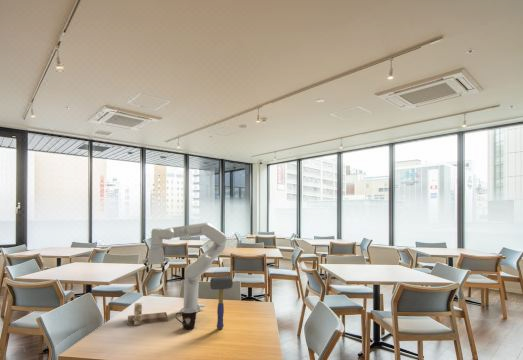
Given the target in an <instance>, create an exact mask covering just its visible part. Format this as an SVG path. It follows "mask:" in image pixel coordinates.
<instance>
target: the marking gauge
mask: <svg viewBox="0 0 523 360" xmlns="http://www.w3.org/2000/svg"><path fill="white" fill-rule="evenodd" d="M142 309H143V303H142V302H138V303H137V302H136V303H134V311H133V315H134V316H135V317H134V326H136V325H137V326H138V325H142V324H141V322H142V311H143V310H142Z"/></svg>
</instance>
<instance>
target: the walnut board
mask: <svg viewBox="0 0 523 360" xmlns="http://www.w3.org/2000/svg"><path fill="white" fill-rule="evenodd" d="M141 314H142V313H141ZM134 317H135V316H134V314H132V315H127V326H132V325H134ZM168 319H169V317H168V313H167V312H166V311H163V312H154V313H152V312H151V313H143V314H142V322H141V324H140V325H142V324H152V323H153V324H154V323H160V322H167V321H169V320H168ZM134 326H135V325H134Z"/></svg>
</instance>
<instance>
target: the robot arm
mask: <svg viewBox="0 0 523 360" xmlns="http://www.w3.org/2000/svg"><path fill="white" fill-rule="evenodd" d="M150 233H151V234H150V236H151V237H150V238H151V239H150V248H149V250H148V254H147V257H146V258H145V259H142V263H143V266H145V268H146V269H145V271H146V274H149V270H150V269H149V268H150V267H149V266H150V265H162V266H161V272H162V273H164V272H165V267H166V265H168V263H169V261H170V259H168V258H167V257H165V254H164V252H165V251H164V248H165V244H163V240H172V239H175V238H192V237H193V238H194V237H201V236H202V237H203V236H205V237H206V238H207V239H209V240H210V241H212V242H213V243H212V245H211V246H210V247H209V248H208V249H207V250H205V251H204V252H203V253H202V254H200V255H199V256H198V257H197V260H196V261H194V262H191V263H189V264H187V265H186V266H185V269H184V287H183V288H184V289H183V292H184V293H183V307H182V308H181V309H180V313H182V310H184V309H190V308H191V309H196V310H197V313H198V312H200V310H201V308H205V306H206V305H205V304H204V303H199V286H200V285H199V281H200V280H199V278H200V277H201V276H202V275H203V274H205V272H207V271H208V270H209V269H210V268H211V267H212V265H213V262H214V261H215V260H216V259H217V258H218V257H219V256H220V255H221V254H222V253H223V252H224V250H225V246H226V242H227V235H226V233H224V232H222V231H220V230H219V229H217V228H216V227H215V226H213V224H211V223H209V222H201V223H195V224H186V225H181V226H175V227H174V226H173V227H167V228H163V229H162V228H152V229H151V232H150ZM164 261H165V262H164ZM146 262H147V263H146Z"/></svg>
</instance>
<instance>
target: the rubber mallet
mask: <svg viewBox="0 0 523 360" xmlns="http://www.w3.org/2000/svg"><path fill="white" fill-rule="evenodd" d="M233 282H234V281H233V278H232V276H230V275H229V276H228V275H225V276H224V275H223V276H221V275H220V276H213V277H210V282H209V284H210V285H209V286H210V290H213V291H215V290H218V303H217V311H216V312H217V314H216V315H217V321H216V328H217V330H222V329H224V325H225V324H224V313H225V309H224V308H225V305H224V290H228V289H229V290H230V289H232V287H233Z"/></svg>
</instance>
